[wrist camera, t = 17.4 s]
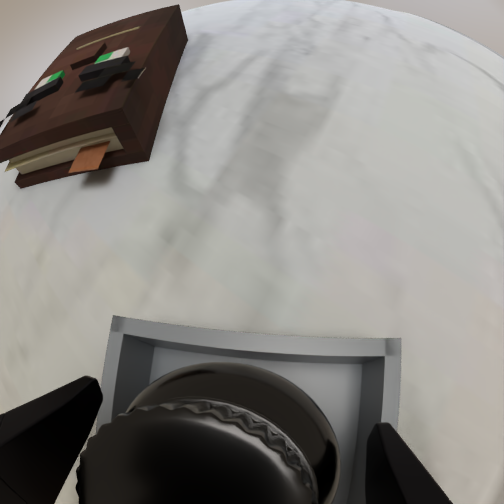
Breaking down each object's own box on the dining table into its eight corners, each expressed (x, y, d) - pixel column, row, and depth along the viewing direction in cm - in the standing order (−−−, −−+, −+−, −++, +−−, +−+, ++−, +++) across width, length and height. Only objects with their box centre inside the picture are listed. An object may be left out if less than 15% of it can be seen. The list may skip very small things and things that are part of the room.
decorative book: (189, -7, 30) (123, 116, 17) (198, 34, 37) (158, 183, 24) (74, 29, 32) (-31, 171, 19) (89, 62, 38) (9, 209, 26)
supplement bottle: (175, 388, 16) (12, 370, 5) (291, 354, 16) (311, 287, 5) (210, 494, 13) (108, 613, 2) (329, 463, 13) (408, 581, 2)
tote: (333, 586, 9) (344, 625, 5) (133, 559, 11) (100, 586, 6) (371, 352, 17) (401, 338, 12) (151, 334, 18) (113, 315, 14)
